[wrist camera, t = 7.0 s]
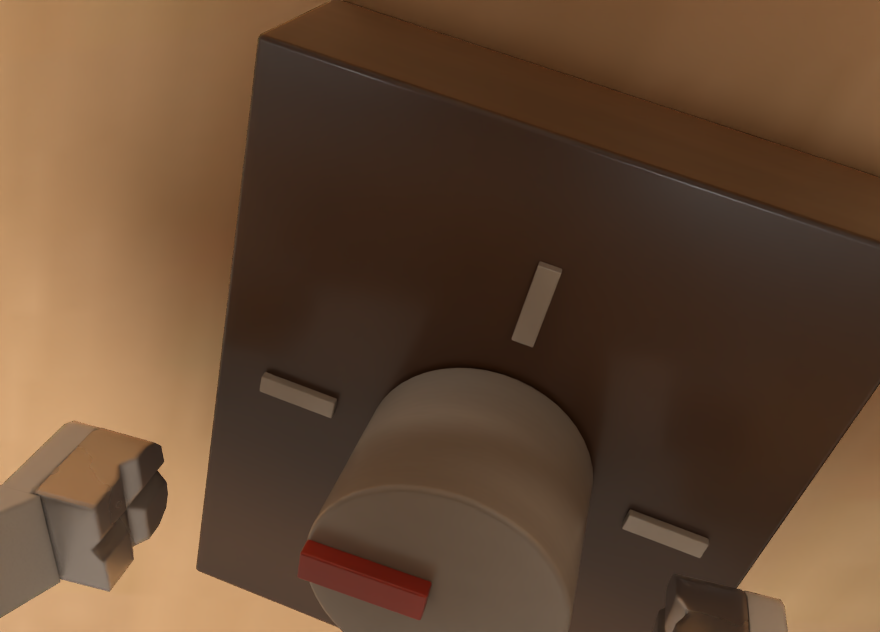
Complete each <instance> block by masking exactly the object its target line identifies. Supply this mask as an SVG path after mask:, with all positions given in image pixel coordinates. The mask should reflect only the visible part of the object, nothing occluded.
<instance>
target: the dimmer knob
mask: <svg viewBox="0 0 880 632" xmlns="http://www.w3.org/2000/svg"><path fill="white" fill-rule="evenodd" d="M592 485H593V467H592V462H591V458H590V454H589V451H588V449H587V446H586V444H585V441H584V439H583V437H582V436H581V434H580V432H579V431H578V429H577V427H576V426H575V425H574V423H573V422H572V421H571V419H570V418H569V417H568V415H567V414H566V413H565V412H564V411H563V410H562V409H561V408H560V407H559V406H558V405H557V404H555V403H554V402H553V401H552V400H550V399H549V398H548V397H547V396H545V395H544V394H542V393H541V392H539V391H538V390H536V389H534V388H533V387H531V386H529V385H527V384H525V383H523V382H521V381H519V380H517V379H514V378H511V377H509V376H506V375H503V374H500V373H496V372H492V371H488V370H481V369H474V368H446V369H439V370H434V371H429V372H426V373H423V374H420V375H417V376H415V377H413V378H411V379H409V380H407V381H405V382H403V383H401V384H400V385H399V386H397V387H396V388H394V389H393V390H392V391H391V392H390V393H389V394H388V395H387V396H386V397H385V398H384V399H383V400H382V402H381V403H380V404H379V406H378V407H377V409H376V411H375V412H374V414H373V416H372V418H371V420H370V421H369V423H368V425H367V427H366V429H365V430H364V432H363V434H362V436H361V438H360V440H359V441H358V443H357V445H356V447H355V449H354V450H353V452H352V454H351V456H350V458H349V460H348V461H347V463H346V465H345V467H344V469H343V470H342V472H341V474H340V476H339V478H338V479H337V481H336V483H335V485H334V487H333V489H332V490H331V492H330V494H329V496H328V498H327V499H326V501H325V503H324V505H323V507H322V508H321V510H320V512H319V514H318V516H317V518H316V519H315V521H314V523H313V525H312V527H311V530H310V532H309V534H308V538H307V541H306V543H305V545H304V547H303V549H302V551H301V552H300V559H299V567H298V575H297V576H298V578H300V579H303V580H306V581H308V582H310V585H311V587H312V590H313V592H314V594H315V596H316V598H317V600H318V601H319V603H320V605H321V606H322V608H323V609H324V611H325V612H326V613H327V615H328V616H329V617H330V618H331V620H332V621H333V622H334V623H335V624H336V625H337V626H338V627H339V628H340V629H341V630H342V631H343V632H568V631H569V628H570V624H571V618H572V612H573V606H574V599H575V593H576V587H577V581H578V574H579V568H580V562H581V556H582V549H583V543H584V537H585V531H586V524H587V518H588V512H589V506H590V499H591V493H592Z"/></svg>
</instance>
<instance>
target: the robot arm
mask: <svg viewBox="0 0 880 632" xmlns="http://www.w3.org/2000/svg"><path fill="white" fill-rule="evenodd" d="M163 462H164V459H163V453H162V448H161V446H160V445H158V444H156V443H154V442H150V441H146V440H143V439H139V438H136V437H132V436H129V435H125V434H122V433H118V432H114V431H111V430H107V429H104V428H99V427H95V426H91V425H88V424H84V423H81V422H77V421H72V422H69V423H67V424H64V425H63V426H62V427H61V428H60V429H59V430H58V431H57V432H56V433H55V434H54V435H53V436H51V437H50V438H49V439H48V440H47V441H46V442H45V443H44V444H43V445H42V446H41V447H40V448H39V449H38V450H37V451H36V452H35V453H34V454H33V455H32V456H31V457H30V458H29V459H28V460H27V461H26V462H25V463H24V464H23V465H22V466H21V467H20V468H19V469H18V470H17V471H16V472H14V473H13V474H12V475H11V476H10V477H9V478H8V479H7V480H6V481H5V482H4V483H3V484H2V485H0V618H1V617H3V616H4V615H6V614H8V613H9V612H11V611H13V610H14V609H16V608H18V607H19V606H21V605H23V604H24V603H26V602H28V601H29V600H31V599H33V598H34V597H36V596H38V595H39V594H41V593H43V592H44V591H46V590H48V589H49V588H51V587H53V586H54V585H56V584H58V583H59V582H60V579H62V580H66V581H70V582H74V583H78V584H82V585H86V586H90V587H93V588H97V589H101V590H105V591H109V592H110V591H111V589H112V588H113V587H114V585H115V584H116V583H117V581H118V580H119V579H120V577H121V576H122V575H123V573H124V572H125V571H126V569H127V568H128V567H129V565H130V564H131V563H132V561H133V560H134V557H133V546H135V545H137V544H139V543H141V542H143V541H145V540H147V539H149V538H150V537H151V535H152V534H153V533H154V531H155V530H156V528H157V527H158V526H159V524H160V521H161V519H162V516H163V514H164V511H165V509H166V504H167V496H168V491H167V482H166V481H165V480H164V478H163V477H162V476H161V475H160V473H159V472H158V471H157V470H158V469H159V467H160V466H161V465H162V464H163ZM653 632H788V629H787V621H786V614H785V606H784V604H783V603H782V601H781V600H780V599H776V598H772V597H768V596H764V595H760V594H756V593H752V592H748V591H742V590H740V589H736V588H732V587H728V586H724V585H720V584H716V583H711V582H707V581H703V580H699V579H695V578H691V577H687V576H683V575H678V574H673V575H672V577H671V578H670V581H669V583H668V586H667V589H666V601H665V608H663V609H661V610H659V612H658V615H657V618H656V621H655V624H654V628H653Z"/></svg>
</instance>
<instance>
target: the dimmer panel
mask: <svg viewBox="0 0 880 632" xmlns="http://www.w3.org/2000/svg"><path fill="white" fill-rule="evenodd" d="M446 368H474V369H481V370H488V371H492V372H496V373H500V374H503V375H506V376H509V377H511V378H514V379H517V380H519V381H521V382H523V383H525V384H527V385H529V386H531V387H533V388H534V389H536V390H538V391H539V392H541V393H542V394H544V395H545V396H547V397H548V398H549V399H550V400H552V401H553V402H554V403H555V404H557V405H558V406H559V407H560V408H561V409H562V410H563V411H564V412H565V413H566V414H567V415H568V417H569V418H570V419H571V421H572V422H573V423H574V425H575V426H576V427H577V429H578V431H579V432H580V434H581V436H582V437H583V439H584V441H585V444H586V446H587V449H588V451H589V454H590V458H591V462H592V467H593V485H592V493H591V499H590V506H589V512H588V518H587V524H586V531H585V537H584V543H583V549H582V556H581V562H580V568H579V574H578V581H577V587H576V593H575V599H574V606H573V612H572V618H571V624H570V628H569V631H568V632H653V628H654V624H655V621H656V618H657V615H658V612H659V610H661V609H663V608H665V601H666V589H667V586H668V583H669V581H670V578H671V577H672V575H673V574H678V575H683V576H687V577H691V578H695V579H699V580H703V581H707V582H711V583H716V584H720V585H724V586H728V587H732V588H737V587H738V585H739V584H740V583H741V581H742V580H743V578H744V577H745V575H746V574H747V573H748V571H749V570H750V568H751V567H752V565H753V564H754V563H755V561H756V560H757V558H758V557H759V555H760V554H761V553H762V551H763V550H764V548H765V547H766V545H767V544H768V543H769V541H770V540H771V538H772V537H773V535H774V534H775V533H776V531H777V530H778V528H779V527H780V525H781V524H782V523H783V521H784V520H785V518H786V517H787V515H788V514H789V513H790V511H791V510H792V508H793V507H794V505H795V504H796V503H797V501H798V500H799V498H800V497H801V495H802V494H803V493H804V491H805V490H806V488H807V487H808V485H809V484H810V483H811V481H812V480H813V478H814V477H815V475H816V474H817V473H818V471H819V470H820V468H821V467H822V465H823V464H824V463H825V461H826V460H827V458H828V457H829V455H830V454H831V453H832V451H833V450H834V448H835V447H836V445H837V444H838V443H839V441H840V440H841V438H842V437H843V435H844V434H845V433H846V431H847V430H848V428H849V427H850V425H851V424H852V423H853V421H854V420H855V418H856V417H857V415H858V414H859V413H860V411H861V410H862V408H863V407H864V405H865V404H866V403H867V401H868V400H869V398H870V397H871V395H872V394H873V393H874V391H875V390H876V388H877V387H878V385H879V384H880V177H877V176H874V175H871V174H868V173H865V172H862V171H859V170H856V169H853V168H850V167H847V166H844V165H840V164H837V163H834V162H831V161H828V160H825V159H822V158H819V157H816V156H813V155H810V154H807V153H804V152H801V151H798V150H795V149H792V148H789V147H786V146H783V145H780V144H777V143H774V142H771V141H767V140H764V139H761V138H758V137H755V136H752V135H749V134H746V133H743V132H740V131H737V130H734V129H731V128H728V127H725V126H722V125H719V124H716V123H713V122H710V121H707V120H704V119H701V118H698V117H694V116H691V115H688V114H685V113H682V112H679V111H676V110H673V109H670V108H667V107H664V106H661V105H658V104H655V103H652V102H649V101H646V100H643V99H640V98H637V97H634V96H631V95H628V94H624V93H621V92H618V91H615V90H612V89H609V88H606V87H603V86H600V85H597V84H594V83H591V82H588V81H585V80H582V79H579V78H576V77H573V76H570V75H567V74H564V73H561V72H558V71H555V70H551V69H548V68H545V67H542V66H539V65H536V64H533V63H530V62H527V61H524V60H521V59H518V58H515V57H512V56H509V55H506V54H503V53H500V52H497V51H494V50H491V49H488V48H485V47H481V46H478V45H475V44H472V43H469V42H466V41H463V40H460V39H457V38H454V37H451V36H448V35H445V34H442V33H439V32H436V31H433V30H430V29H427V28H424V27H421V26H418V25H415V24H412V23H408V22H405V21H402V20H399V19H396V18H393V17H390V16H387V15H384V14H381V13H378V12H375V11H372V10H369V9H366V8H363V7H360V6H357V5H354V4H351V3H348V2H345V1H342V0H331V1H329V2H327V3H325V4H323V5H321V6H319V7H317V8H315V9H313V10H310V11H308V12H306V13H304V14H302V15H300V16H298V17H296V18H294V19H292V20H290V21H287V22H285V23H283V24H281V25H279V26H277V27H275V28H273V29H271V30H269V31H267V32H264V33H262V34H260V36H259V38H258V44H257V53H256V61H255V70H254V78H253V87H252V96H251V104H250V113H249V121H248V130H247V138H246V147H245V155H244V164H243V173H242V181H241V190H240V198H239V207H238V215H237V224H236V232H235V241H234V250H233V258H232V267H231V275H230V284H229V292H228V301H227V309H226V318H225V327H224V335H223V344H222V352H221V361H220V369H219V378H218V386H217V395H216V404H215V412H214V421H213V429H212V438H211V446H210V455H209V463H208V472H207V481H206V489H205V498H204V506H203V515H202V523H201V532H200V540H199V549H198V558H197V566H196V569H197V570H198V571H200V572H202V573H205V574H207V575H210V576H212V577H215V578H217V579H220V580H222V581H225V582H227V583H229V584H232V585H234V586H237V587H239V588H242V589H244V590H247V591H249V592H252V593H254V594H257V595H259V596H262V597H264V598H267V599H269V600H272V601H274V602H277V603H279V604H281V605H284V606H286V607H289V608H291V609H294V610H296V611H299V612H301V613H304V614H306V615H309V616H311V617H314V618H316V619H319V620H321V621H324V622H326V623H329V624H331V625H333V626H336V627H338V626H337V625H336V624H335V623H334V622H333V621H332V620H331V618H330V617H329V616H328V615H327V613H326V612H325V611H324V609H323V608H322V606H321V605H320V603H319V601H318V600H317V598H316V596H315V594H314V592H313V590H312V587H311V585H310V582H308V581H306V580H303V579H300V578H298V576H297V575H298V567H299V559H300V552H301V551H302V549H303V547H304V545H305V543H306V541H307V538H308V534H309V532H310V530H311V527H312V525H313V523H314V521H315V519H316V518H317V516H318V514H319V512H320V510H321V508H322V507H323V505H324V503H325V501H326V499H327V498H328V496H329V494H330V492H331V490H332V489H333V487H334V485H335V483H336V481H337V479H338V478H339V476H340V474H341V472H342V470H343V469H344V467H345V465H346V463H347V461H348V460H349V458H350V456H351V454H352V452H353V450H354V449H355V447H356V445H357V443H358V441H359V440H360V438H361V436H362V434H363V432H364V430H365V429H366V427H367V425H368V423H369V421H370V420H371V418H372V416H373V414H374V412H375V411H376V409H377V407H378V406H379V404H380V403H381V402H382V400H383V399H384V398H385V397H386V396H387V395H388V394H389V393H390V392H391V391H392V390H393V389H394V388H396V387H397V386H399V385H400V384H401V383H403V382H405V381H407V380H409V379H411V378H413V377H415V376H417V375H420V374H423V373H426V372H429V371H434V370H439V369H446ZM338 628H339V627H338Z"/></svg>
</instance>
